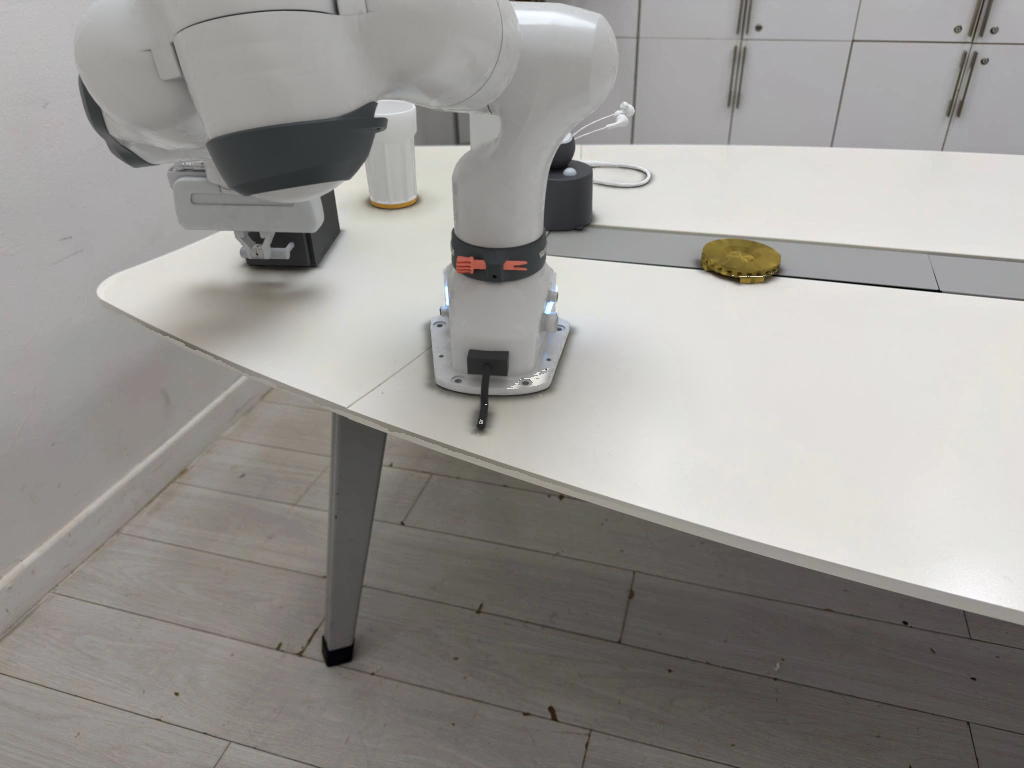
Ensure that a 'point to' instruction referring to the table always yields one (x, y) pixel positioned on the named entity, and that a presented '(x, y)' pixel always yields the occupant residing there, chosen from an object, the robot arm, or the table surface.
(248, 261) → the drawer
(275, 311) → the table surface
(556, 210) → the light fixture
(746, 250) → the compass
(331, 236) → the cabinet
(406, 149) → the cup
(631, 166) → the earphone
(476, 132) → the milk carton
